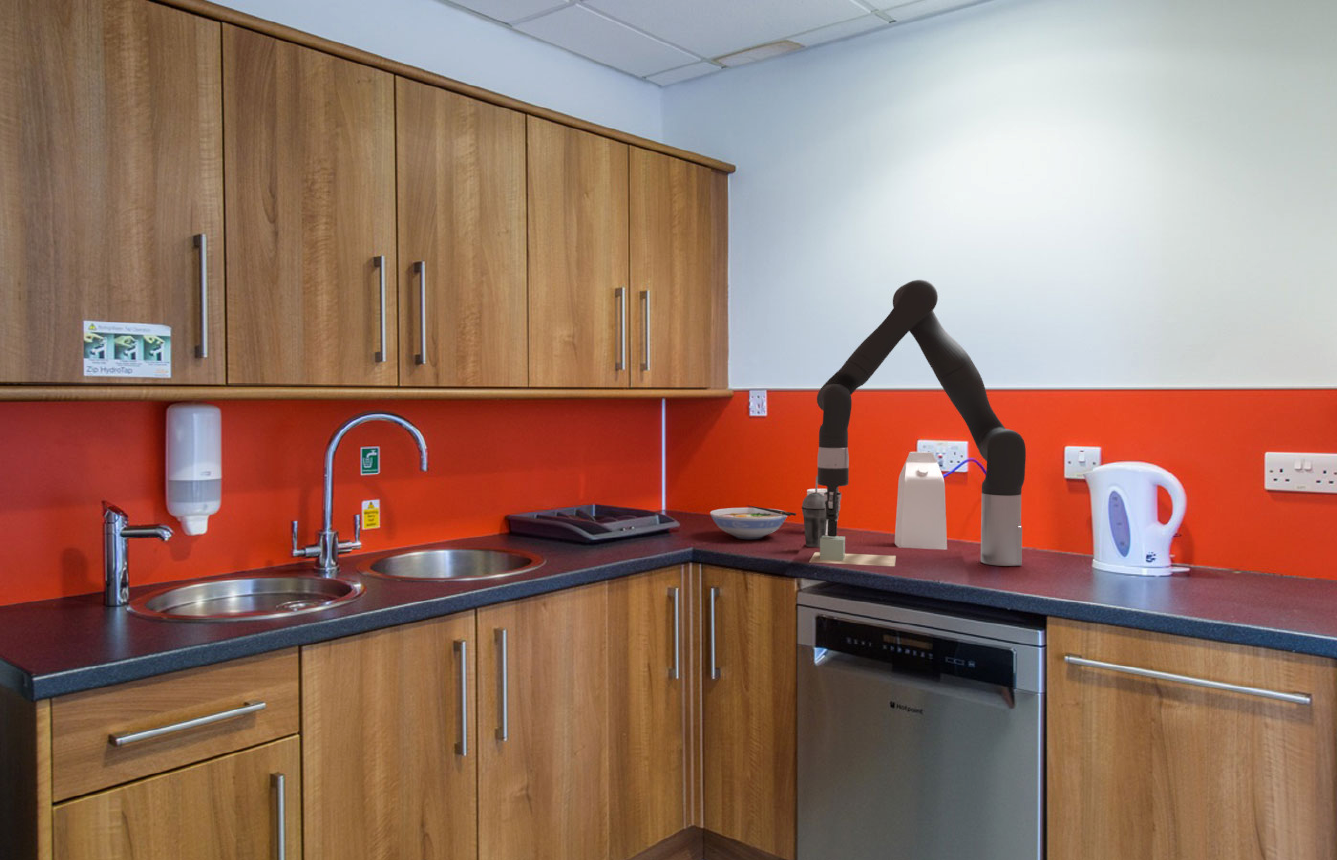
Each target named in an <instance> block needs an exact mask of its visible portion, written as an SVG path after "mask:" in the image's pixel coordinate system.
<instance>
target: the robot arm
mask: <svg viewBox="0 0 1337 860" xmlns="http://www.w3.org/2000/svg"><path fill="white" fill-rule="evenodd" d="M938 301H939V300H938V292H937V288H936V287H935V286H934V285H933V284H932V283H931V282H929V281H927V280H924V279H916V280H912V281H909V282H907V283H905V284H903V285H901V286H899V287H898V288H897V289H896V291H895V292H894V294H893V298H892V306H893V308H892V310H891V311H890V312H889V314H888V315H887V316H886V317H885V319H884V320H883V321H882V322H881V323H880V324H879V326H877V327H876V329H875V330H874V331H872V332H871V333H870V334H869V335H868V336H867V337H866V338H865V339H864V340H863V341H862V342H861V343H860V344H859V345H858V347H857V348H855V350H854V351H853V352H852V354H850V356H849V357H848V358H847V360H845V362H844V363H843V365H842V366H841V368H839V370H837V371H836V372H835V373H834V374H833V375H832V376H831V377H830V378H829V379H828V380H827V381H826V382H825V383H824V384H823V385H822V386H821V388H820V389H819V391H818V393H817V395H816V403H817V406H818V408H819V409H821V410H822V411H823V413H822V424H821V425H820V426H819V431H818V453H817V476H818V478H817V483H818V485H819V486H823V487H826V489H827V492H825V493H824V500H825V511H826V519H827V521H828V535H827V536H830V537H836V536H838V522H839V516H840V511H841V500H842V492H839V491H840V490H839V487H845V486H848V485H849V483H850V482H849V481H850V480H849V477H850V476H849V475H850V474H849V473H850V470H849V469H850V466H849V465H850V464H849V463H850V456H849V448H848V447H849V431H848V430H849V425H850V419H851V413H852V404H853V403H852V401H853V400H852V394H853V393H855V391H856V390H857V389H858V388H860V387H863V385H865V384H866V383H867V382H868V381H869V379H871V377H872V376H873V375H874V373H875V372H876V371H877V370H878V368H879V367H880V366H881V365H882V363H883V362H884V361H885V360H886V359H887V357H888V356H889V355H890V354H891V352H892V351H893V350H894V349H895V348H896V346H897V345H898V344H899V342H900V341H901V340H902V339H903V338H904V337H905V336H906V335H907V334H908V333H909V332H910V334H911V335H912V337H913V338H914V340H915V341H916V343H917V344H918V347H920V350H921V352H922V354H923V356H924V358H925V359H926V361H927V363H928V364H929V366H930V368H931V370H932V371H933V373H934V375H935V377H936V379H937V380H938V382H939V384H940V385H941V388H942V389H943V391H944V393H946V395H947V396H948V397H947V398H948V399H949V400H950V401H951V403H952V404H953V406H954V408H955V409H956V410H957V412H958V413H959V415H960V416H961V417H962V419H963V421H964V422H965V424H966V425H967V428H968V430H969V432H970V434H971V437H972V439H973V441H974V444H975V445H976V448H977V450H978V452H979V454H980V456H981V457H982V459H984V461H986V472H985V477H984V479H983V481H982V482H981V508H980V509H981V510H980V511H981V513H980V514H981V515H980V517H981V521H980V522H981V523H980V562H981V563H983V564H985V565H990V566H1003V567H1008V566H1009V567H1014V566H1022V563H1023V562H1022V561H1023V559H1022V558H1023V557H1022V556H1023V555H1022V554H1023V551H1022V550H1023V526H1022V491H1023V490H1022V488H1023V485H1024V483H1025V477H1026V475H1025V474H1026V457H1027V454H1026V453H1027V452H1026V451H1027V449H1026V443H1025V440H1024V438H1023V436H1021V434H1020V433H1019V432H1017V431H1016V430H1012V429H1009V428H1006V427H1005V425H1003V423H1002V422H1001V420H1000V419H999V417H998V416H997V415H996V413H995V412H994V410H993V408H992V407H991V403H990V401H989V398H988V394H987V391H986V387H985V384H984V381H983V378H982V375H981V373H980V372H979V370H978V368H977V367H976V365H975V363H974V361H973V360H972V358H971V357H970V355H969V354H968V353H967V351H966V349H964V348H963V347H962V345H960V343H958V341H956V340H955V339H954V338H953V337H952V336H951V335H950V334H949V333H948V332H947V331H946V330H945V329H944V327H943V326H942V324H941V323H940V321H939V319H938V318H937V315H936V313H935V312H934V310H935V308H936V306H937V303H938Z"/></svg>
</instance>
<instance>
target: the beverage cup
mask: <svg viewBox="0 0 1337 860" xmlns="http://www.w3.org/2000/svg"><path fill="white" fill-rule="evenodd" d="M817 478H818V475H816V476H815V488H814V489H815V493H811V494H809V495H807V494H806V496H805V497H804V498H803V501H802V505H801V511H802V516H803V526H804V527H803V528H804V538H805V539H804V540H805V547H807V548H820V538H821V537H822V536H827V535H826V524H827V519H826V511H825V500H824V496H823V495H822V494H820V493H817V489H818V485H819V484H818V483H817Z"/></svg>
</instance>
